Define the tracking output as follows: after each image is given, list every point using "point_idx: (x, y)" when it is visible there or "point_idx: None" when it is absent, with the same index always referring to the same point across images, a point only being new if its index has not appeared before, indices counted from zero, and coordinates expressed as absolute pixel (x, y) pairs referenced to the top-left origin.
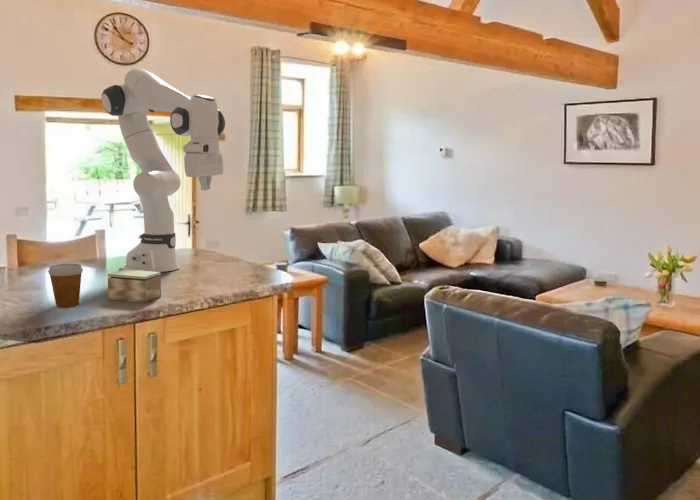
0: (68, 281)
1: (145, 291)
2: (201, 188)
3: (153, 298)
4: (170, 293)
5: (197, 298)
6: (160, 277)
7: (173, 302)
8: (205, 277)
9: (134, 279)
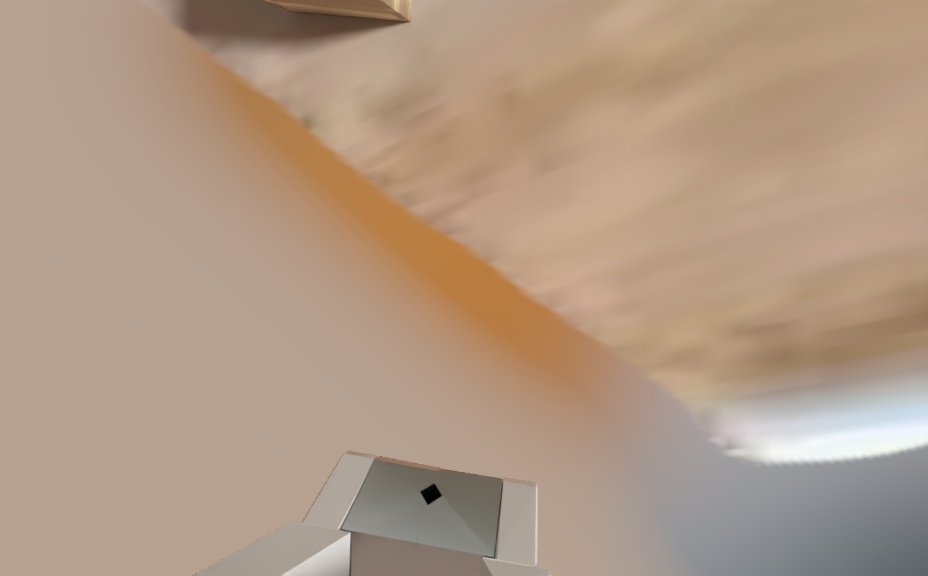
0: None
1: (267, 1)
2: (339, 472)
3: (347, 15)
4: (474, 36)
5: (419, 192)
6: (384, 3)
7: (335, 122)
8: (872, 59)
9: None
